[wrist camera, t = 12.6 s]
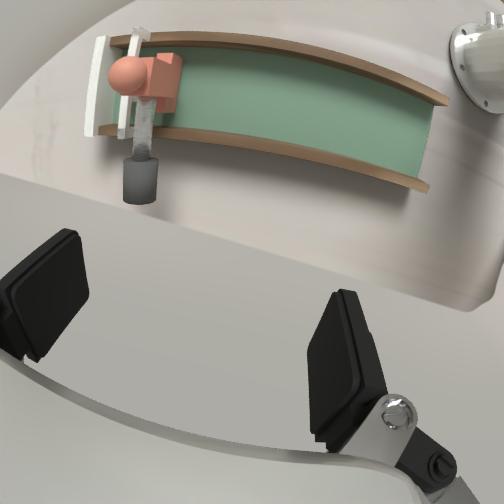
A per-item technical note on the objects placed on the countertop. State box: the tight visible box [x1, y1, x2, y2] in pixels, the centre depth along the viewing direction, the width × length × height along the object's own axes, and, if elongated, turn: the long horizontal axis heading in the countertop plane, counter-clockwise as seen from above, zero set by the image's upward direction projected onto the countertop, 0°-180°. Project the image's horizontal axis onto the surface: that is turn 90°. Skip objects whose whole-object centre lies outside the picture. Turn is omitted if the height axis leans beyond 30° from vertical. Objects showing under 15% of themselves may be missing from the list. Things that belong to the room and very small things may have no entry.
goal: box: [84, 27, 151, 139], centre depth 22 cm, size 11×6×5 cm, turn 171°
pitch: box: [98, 31, 449, 194], centre depth 24 cm, size 11×36×4 cm, turn 81°
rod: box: [108, 53, 183, 205], centre depth 20 cm, size 14×3×12 cm, turn 171°
